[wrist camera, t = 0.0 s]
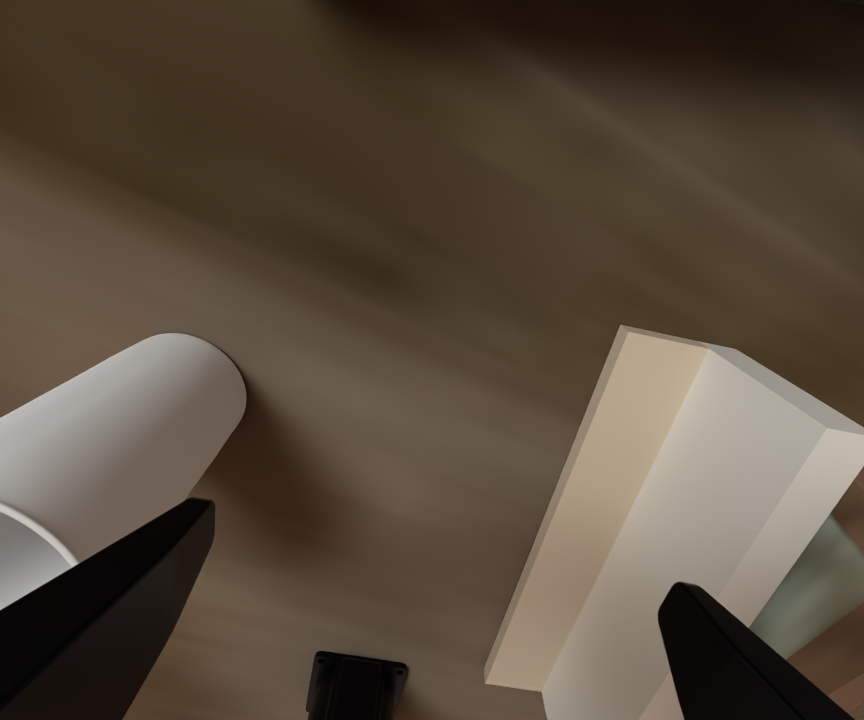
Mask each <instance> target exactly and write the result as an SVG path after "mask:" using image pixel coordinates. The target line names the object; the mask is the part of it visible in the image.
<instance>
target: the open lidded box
mask: <svg viewBox="0 0 864 720" xmlns="http://www.w3.org/2000/svg"><path fill="white" fill-rule="evenodd" d="M828 1H837V2H846V3H854V4H863V5H864V0H828Z"/></svg>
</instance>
